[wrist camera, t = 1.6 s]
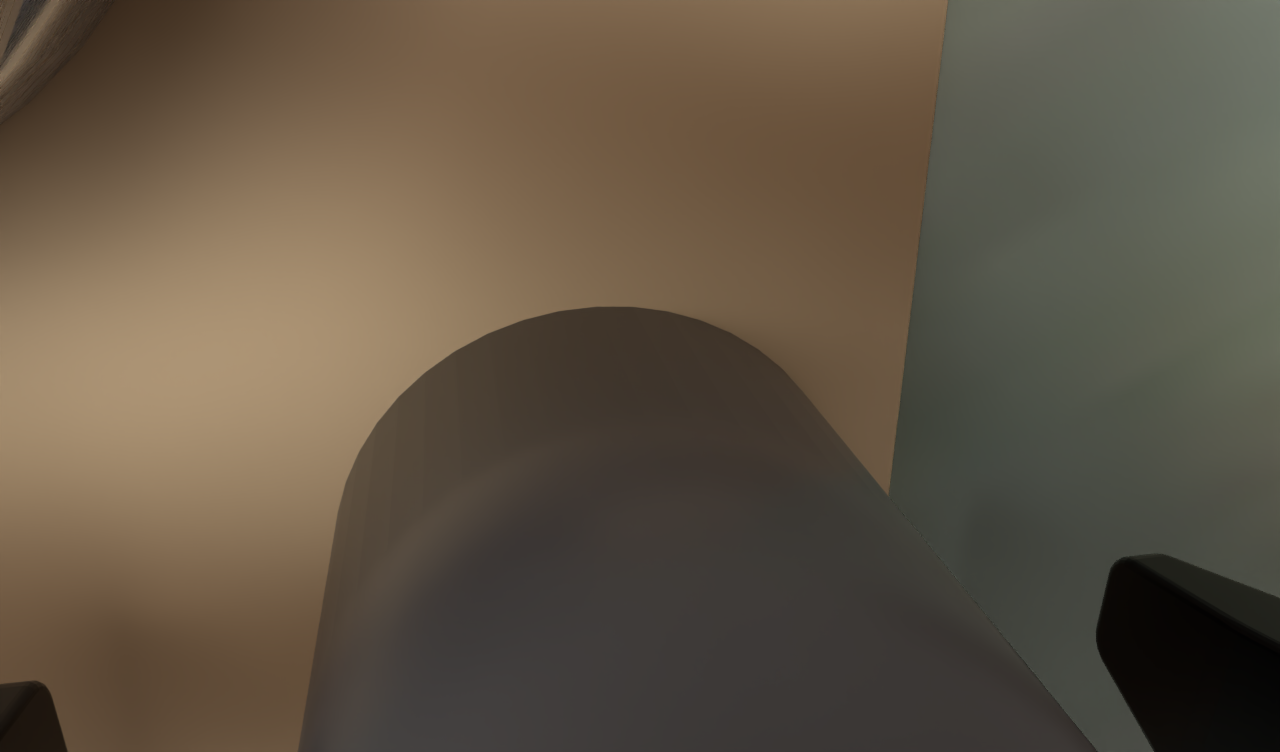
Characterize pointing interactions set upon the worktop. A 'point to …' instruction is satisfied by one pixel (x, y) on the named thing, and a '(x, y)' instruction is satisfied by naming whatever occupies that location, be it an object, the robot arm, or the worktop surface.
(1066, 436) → the worktop surface
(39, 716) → the robot arm
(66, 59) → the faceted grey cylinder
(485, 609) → the cap
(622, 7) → the board
